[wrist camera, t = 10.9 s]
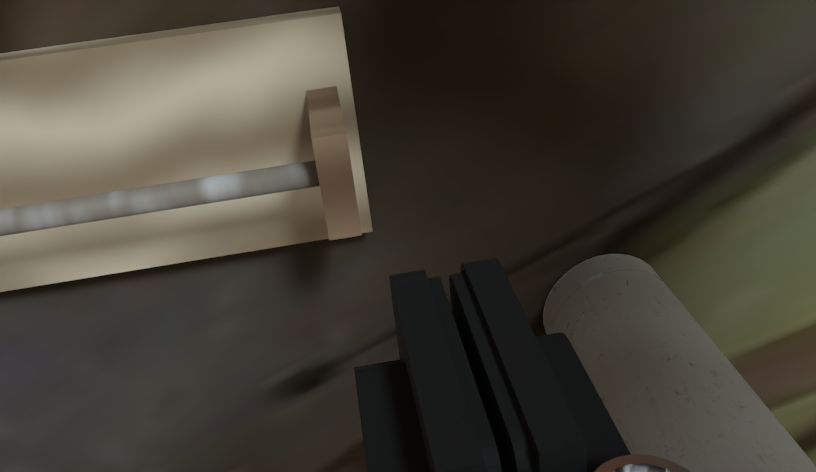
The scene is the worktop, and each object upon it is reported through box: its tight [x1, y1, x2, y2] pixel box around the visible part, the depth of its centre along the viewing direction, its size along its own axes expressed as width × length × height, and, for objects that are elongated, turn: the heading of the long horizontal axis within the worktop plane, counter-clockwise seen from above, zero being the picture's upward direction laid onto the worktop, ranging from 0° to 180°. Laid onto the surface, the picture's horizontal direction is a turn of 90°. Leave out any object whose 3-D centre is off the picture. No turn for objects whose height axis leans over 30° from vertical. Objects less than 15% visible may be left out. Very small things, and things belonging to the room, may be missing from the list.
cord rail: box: [0, 6, 373, 292], centre depth 35 cm, size 12×34×8 cm, turn 96°
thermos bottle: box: [543, 254, 816, 472], centre depth 37 cm, size 8×8×28 cm
